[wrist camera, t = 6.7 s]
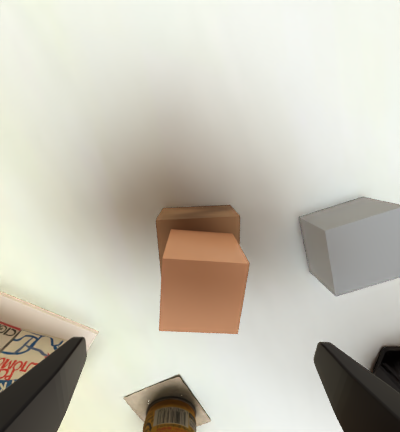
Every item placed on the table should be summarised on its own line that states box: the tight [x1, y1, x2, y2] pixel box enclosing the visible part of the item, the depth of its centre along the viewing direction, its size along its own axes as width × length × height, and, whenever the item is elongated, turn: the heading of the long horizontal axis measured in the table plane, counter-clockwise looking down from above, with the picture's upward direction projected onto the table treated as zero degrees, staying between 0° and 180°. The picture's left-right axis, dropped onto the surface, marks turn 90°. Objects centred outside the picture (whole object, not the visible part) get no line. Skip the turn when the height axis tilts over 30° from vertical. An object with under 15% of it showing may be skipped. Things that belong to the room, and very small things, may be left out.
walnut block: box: [156, 205, 240, 277], centre depth 17 cm, size 6×6×4 cm
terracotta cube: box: [159, 229, 249, 334], centre depth 13 cm, size 4×4×4 cm
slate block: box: [299, 197, 400, 296], centre depth 18 cm, size 6×6×4 cm
